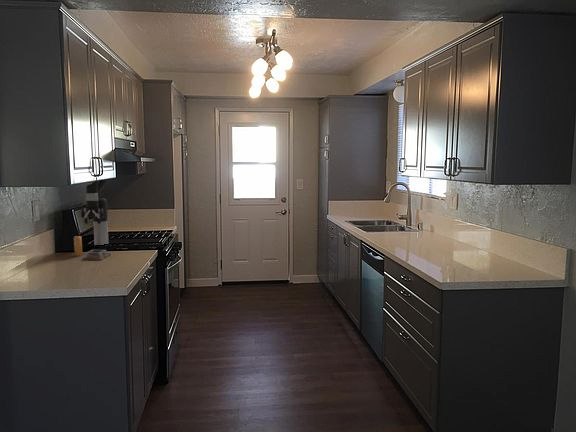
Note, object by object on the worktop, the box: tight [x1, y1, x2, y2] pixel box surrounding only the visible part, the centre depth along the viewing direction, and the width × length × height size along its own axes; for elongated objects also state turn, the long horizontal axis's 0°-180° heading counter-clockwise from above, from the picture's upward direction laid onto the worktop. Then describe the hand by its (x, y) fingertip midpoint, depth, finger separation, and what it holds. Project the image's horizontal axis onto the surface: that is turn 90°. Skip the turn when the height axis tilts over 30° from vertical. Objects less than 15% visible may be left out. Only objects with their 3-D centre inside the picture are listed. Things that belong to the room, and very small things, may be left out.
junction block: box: [81, 249, 112, 261], centre depth 295 cm, size 15×12×4 cm
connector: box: [73, 235, 83, 257], centre depth 300 cm, size 4×4×12 cm
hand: (92, 223), depth 319 cm, fingers open, 8 cm apart
